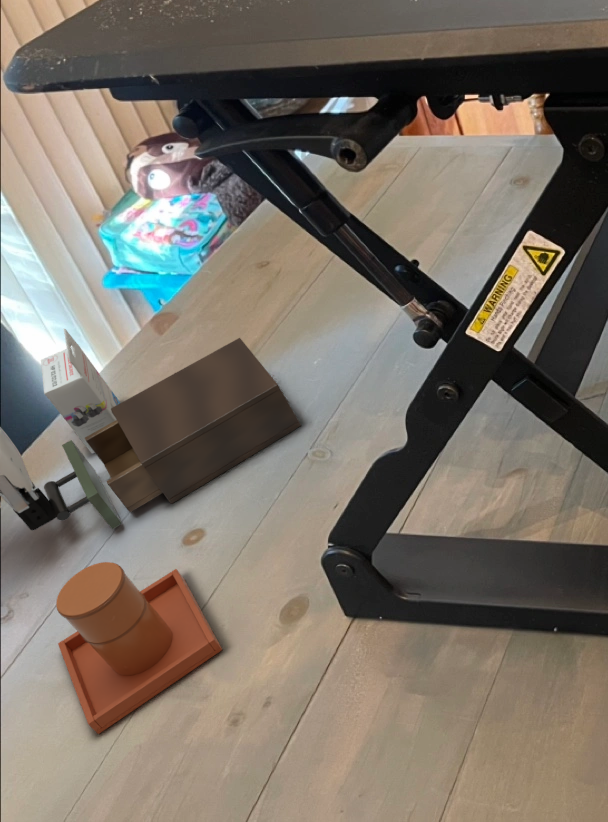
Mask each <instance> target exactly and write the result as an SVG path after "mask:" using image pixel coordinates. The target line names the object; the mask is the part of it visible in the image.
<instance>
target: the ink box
mask: <svg viewBox="0 0 608 822" xmlns="http://www.w3.org/2000/svg"><path fill="white" fill-rule="evenodd" d="M63 333H64V340H65V347H66V349H63V350H61V351H58V352H56V353H54V354H52V355H48V356H47V357H44V358H42V359H41V360H40V364H41V366H40V367H41V376H42V385H43V394H44V396H45V397H46V398H47V399H48V401H50V403H51V404H52V405H53V407H54V408H55V409H56V410H57V411H58V413H59V414H60V416H61V417H62V418H63V419H64V421H65V422H66V423H67V424H68V426H69V427H70V428H71V429H72V430H73V432H74V433H75V434H76V435H77V437H78V439H80V441H81V442H82V443H83V444H84V446H85V448H87V450H88V451H89V452H90V454H96V453H95V452H94V451H93V450H92V448H91V447H90V446H89V444H88V443H87V442H86V440H85V437H87V436H89V435H90V434H92V433H94V432H96V431H98V430H99V429H101V428H103V427H105V426H107V425H108V424H110V423H112V422H114V421H116V420H117V419H116V418H115V416H114V414H113V412H112V411H111V408H113V407H114V406H116V405H118V404H120V403H121V401H119V399H118V397H117V396H116V394H115V393H114V392H113V391H112V388H110V386H109V385H108V383H107V382H106V380H105V379H104V378H103V377H102V375H101V374H100V373H99V371H98V369H96V367H95V366H94V364H93V363H92V362H91V360H90V359H89V357H88V356H87V354H86V353H85V352H84V350H83V349H82V348H81V346H80V344H78V343H77V341H76V340H75V339H74V338H73V336H72V335H71V334H70V332H69V331H68V330H67V329H66V328H63Z"/></svg>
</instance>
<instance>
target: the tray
mask: <svg viewBox="0 0 608 822" xmlns="http://www.w3.org/2000/svg"><path fill="white" fill-rule="evenodd" d="M139 591H140V592H141V593H142V594H143V595H144V596H145V598H146V600H147V601H148V602H149V603H150V604H151V606H152V607H153V608H154V609H155V610H156V612H157V613H158V614H159V615H160V616H161V618H162V619H163V620H164V621H165V623H166V624H167V625H168V626H169V627H170V629H171V631H172V642H171V645H170V647H169V649H168V651H167V652H166V654H165V655H164V656H163V657H162V658H161V659H160V660H159V661H158V662H157V663H156V664H155V665H154V666H152V667H151V668H149V669H147V670H146V671H144V672H141V673H139V674H136V675H131V676H123V675H119V674H117V673H116V672H115V671H114V670H113V669H112V668H111V667H110V666H109V665H108V664H107V663H106V662H105V660H104V659H103V658H102V657H101V656H100V655H99V654H98V653H97V652H96V651H95V650H94V649H93V647H92V646H91V645H90V644H89V643H87V642H86V641H85V640H84V639H83V637H82V636H81V634H80V633H79V632H78V631H77V630H76V631H75V632H74V633H73V634H71V635H69V636H68V637H66V638H64V639H63V640H61V641H59V642H58V643H57V644H58V648H59V651H60V653H61V655H62V658H63V661H64V664H65V666H66V669H67V671H68V675H69V677H70V679H71V682H72V685H73V687H74V690H75V692H76V696H77V699H78V702H79V703H80V706H81V709H82V712H83V714H84V717H85V720H86V723H87V724H88V726H89V727H90V728H91V729H92V730H93V731H94V732H96V734H98V735H99V734H101V733H102V732H104V731H105V730H107V729H108V728H110V727H112V726H113V725H114V724H116V723H117V722H119V721H120V720H121V719H123V718H124V717H126V716H128V715H129V714H131V713H132V712H133V711H135V710H136V709H137V708H140V707H141V706H143V704H145V703H146V702H149V700H151V699H153V698H154V697H156V696H157V695H158V694H160V693H161V692H163V691H165V689H167V688H169V687H170V686H171V685H173V684H175V683H176V682H178V681H179V680H180V679H182V678H183V677H185V676H187V675H188V674H189V673H191V672H192V671H194V670H195V669H197V668H198V667H200V666H201V665H203V664H204V663H205V662H207V661H208V660H210V659H211V658H213V657H215V656H216V655H218V654H219V653H220V652H221V651H223V648H222V646H221V644H220V642H219V641H218V639H217V637H216V635H215V633H214V631H213V629H212V628H211V626H210V624H209V622H208V620H207V619H206V616H205V614H204V613H203V611H202V609H201V607H200V605H199V603H198V602H197V600H196V598H195V596H194V594H193V592H192V591H191V589H190V587H189V585H188V583H187V582H186V579H185V578H184V576H183V575H182V574H181V573H180V572H179V571H178V568H175V569H174V570H171V571H170V572H168V573H167V574H166V575H163V576H162V577H161V578H159V579H158V580H156V581H154V582H153V583H151V584H150V585H148V586H146V587H145V588H143V589H142V590H139Z"/></svg>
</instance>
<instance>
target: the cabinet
mask: <svg viewBox="0 0 608 822" xmlns="http://www.w3.org/2000/svg"><path fill="white" fill-rule="evenodd" d="M111 411H112V412H113V414H114V416H115V418H116V419H117V421H118V423H119V425H120V427H121V428H122V430H123V432H124V434H125V435H126V437H127V439H128V441H129V443H130V444H131V446H132V448H133V450H134V451H135V453H136V455H137V457H138V459H139V460H140V462H141V464H142V465H143V467H144V468H145V469H146V471H147V472H148V473H149V475H150V476H151V477H152V479H153V480H154V481H155V483H156V484H157V486H158V487H159V488H160V490H161V491H162V492H163V493H162V494H163V495H164V496H165V498H166V499H167V501H168V502H169V503H170V504H174V503H175V502H177V501H179V500H180V499H182V498H184V497H185V496H188V495H189V494H191V493H192V492H194V491H196V490H197V489H200V488H201V487H202V486H204V485H206V484H207V483H209V482H210V481H212V480H214V479H215V478H217V477H219V476H220V475H223V474H224V473H225V472H227V471H228V470H230V469H232V468H234V467H236V466H237V465H238V464H240V463H242V462H243V461H245V460H247V459H248V458H250V457H252V456H253V455H255V454H256V453H258V452H260V451H262V450H264V449H265V448H267V447H268V446H270V445H272V444H273V443H275V442H277V441H278V440H280V439H282V438H284V437H285V436H287V435H289V434H290V433H291V432H294V431H295V430H296V429H298V428H299V427H301V426H302V423H301V422H300V420H299V419H298V417H297V415H296V413H295V411H294V410H293V408H292V406H291V405H290V403H289V401H288V400H287V398H286V396H285V394H284V392H283V390H282V389H281V387H280V385H279V383H277V381H275V379H274V378H273V376H272V375H271V374H270V372H268V370H267V369H266V368H265V366H264V365H262V363H261V362H260V361H259V359H258V358H257V357H256V356H255V354H254V353H253V352H252V350H251V349H250V348H249V346H247V344H246V343H245V342H244V341H243V340H242V338H241V337H238V338H236V339H235V340H232V341H231V342H229V343H227V344H225V345H223V346H222V347H220V348H218V349H217V350H215V351H213V352H211V353H209V354H207V355H206V356H204V357H202V358H200V359H198V360H196V361H195V362H192V363H191V364H189V365H187V366H186V367H183V368H182V369H180V370H178V371H176V372H175V373H173V374H171V375H169V376H167V377H165V378H164V379H162V380H160V381H158V382H156V383H154V384H153V385H151V386H149V387H147V388H146V389H144V390H142V391H140V392H138V393H136V394H134V395H133V396H131V397H129V398H127V399H126V400H124V401H122V402H120V404H118V405H116V406H114V407H113V408H111Z"/></svg>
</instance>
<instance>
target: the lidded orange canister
mask: <svg viewBox="0 0 608 822" xmlns="http://www.w3.org/2000/svg"><path fill="white" fill-rule="evenodd" d="M140 591H141V590H140V589H138V587H137V586H136V585H135V583H134V582H133V581H132V580H131V579H130V577H128V575H127V574H126V573H125V571H124V569H123V568H122V566H121V565H119V564H117V563H115V562H111V561H103V562H98V563H94V564H92V565H89V566H86V567H85V568H83V569H80V571H78V572H77V573H76V574H74V575H73V576H72V577H70V579H68V580H67V581H66V583H65V584H63V586H62V587H61V589H60V591H59V593H58V594H57V597H56V602H55V603H56V605H55V607H56V611H57V613H58V614H59V615H60V616H61V617H62V618H64V619H65V620H66V621H67V622H68V623H69V624H70V625H71V626H72V627H73V628H74V629H75V630H76V632H77V631H78V632H79V633H80V634H81V636H82V637H83V639H84V640H85V641H86V642H87V643H89V644H90V645H91V646H92V647H93V649H94V650H95V651H96V652H97V653H98V654H99V655H100V656H101V657H102V658H103V659H104V660H105V662H106V663H107V664H108V665H109V666H110V667H111V668H112V669H113V670H114V671H115V672H116V673H117V674H119V675H123V676H131V675H136V674H139V673H141V672H144V671H146V670H147V669H149V668H151V667H152V666H154V665H155V664H156V663H157V662H158V661H159V660H160V659H161V658H162V657H163V656H164V655H165V654H166V652H167V651H168V649H169V647H170V645H171V642H172V631H171V629H170V627H169V626H168V625H167V624H166V623H165V621H164V620H163V619H162V618H161V616H160V615H159V614H158V613H157V612H156V610H155V609H154V608H153V607H152V606H151V604H150V603H149V602H148V601H147V600H146V598H145V596H144V595H143V594H142V593H141V592H140Z"/></svg>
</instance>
